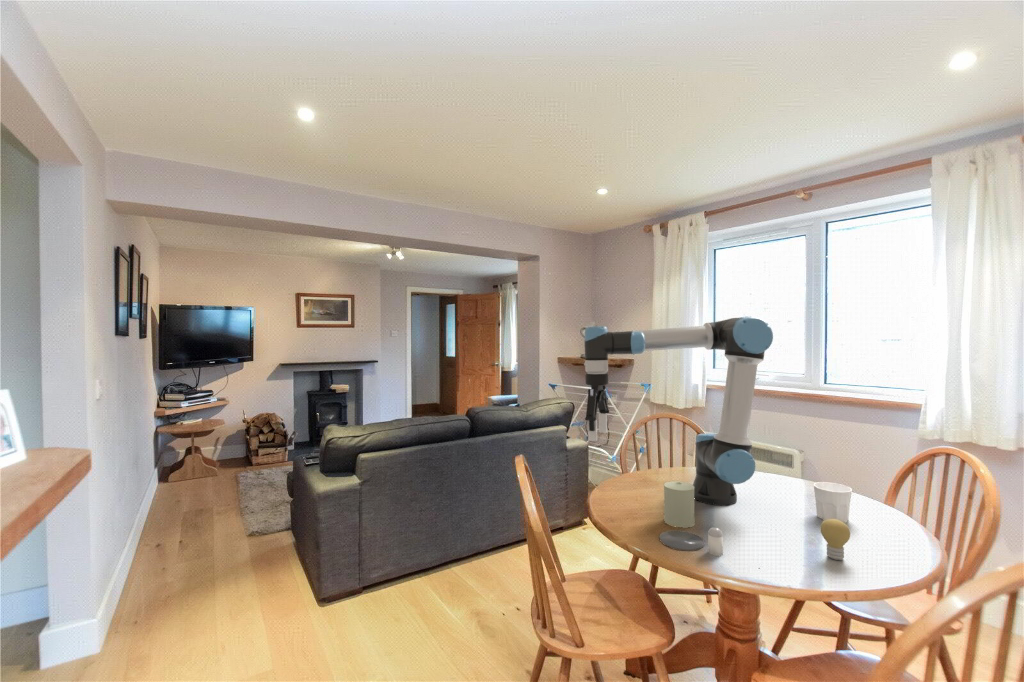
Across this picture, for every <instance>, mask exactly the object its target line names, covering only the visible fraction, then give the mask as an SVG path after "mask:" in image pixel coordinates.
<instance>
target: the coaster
mask: <svg viewBox="0 0 1024 682" xmlns="http://www.w3.org/2000/svg"><path fill="white" fill-rule="evenodd" d="M660 540H661V541H660ZM659 541H660V543H662V544H663V543H664V544H665V545H664V544H663V545H664V546H666V545H667V546H666V547H668V546H669V547H668V548H670V547H671V549H673V548H674V549H675V550H678V551H686V552H687V551H688V552H690V551H698V550H700V549H701V550H702V549H703V548H704V546H705V540H704V538H702V537H701V536H700V535H698V534H695V533H693V532H690V531H685V530H666V531H662V532H661V533H660V534H659Z"/></svg>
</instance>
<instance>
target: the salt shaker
mask: <svg viewBox="0 0 1024 682" xmlns="http://www.w3.org/2000/svg"><path fill="white" fill-rule="evenodd" d="M723 535H724V534H723V532H722V530H721V529H720V528H718V527H711V528H709V530H708V532H707V550H708V551H707V553H708V554H709V555H711V556H713V557H722V556H723V553H724V552H723V551H724V550H723V549H724V546H723V542H724V541H723Z"/></svg>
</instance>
